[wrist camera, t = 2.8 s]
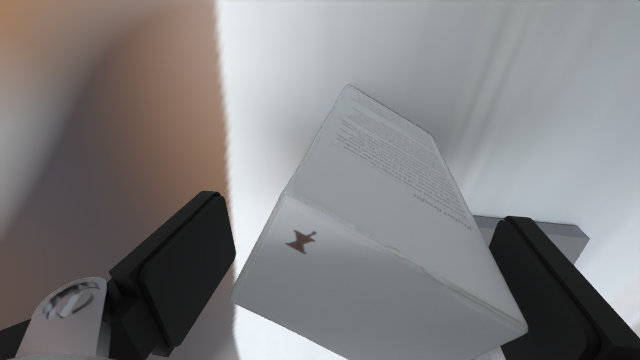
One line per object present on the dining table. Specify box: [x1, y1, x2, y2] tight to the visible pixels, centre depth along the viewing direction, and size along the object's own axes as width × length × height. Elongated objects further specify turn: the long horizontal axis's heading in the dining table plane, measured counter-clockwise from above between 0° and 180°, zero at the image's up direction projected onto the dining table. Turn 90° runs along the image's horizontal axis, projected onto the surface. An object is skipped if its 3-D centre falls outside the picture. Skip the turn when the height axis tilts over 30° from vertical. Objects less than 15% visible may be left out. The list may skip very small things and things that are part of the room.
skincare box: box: [229, 85, 528, 360], centre depth 11 cm, size 6×4×12 cm
